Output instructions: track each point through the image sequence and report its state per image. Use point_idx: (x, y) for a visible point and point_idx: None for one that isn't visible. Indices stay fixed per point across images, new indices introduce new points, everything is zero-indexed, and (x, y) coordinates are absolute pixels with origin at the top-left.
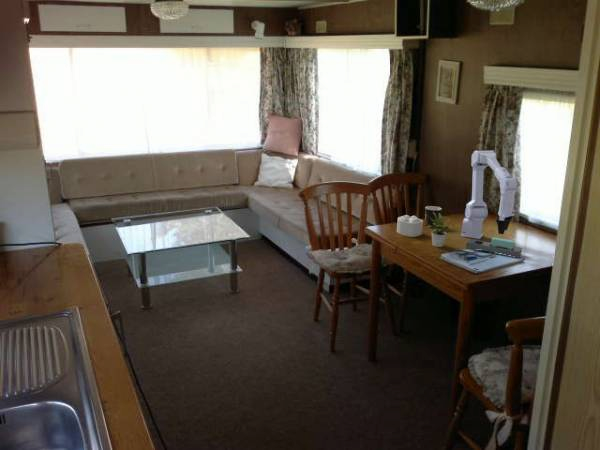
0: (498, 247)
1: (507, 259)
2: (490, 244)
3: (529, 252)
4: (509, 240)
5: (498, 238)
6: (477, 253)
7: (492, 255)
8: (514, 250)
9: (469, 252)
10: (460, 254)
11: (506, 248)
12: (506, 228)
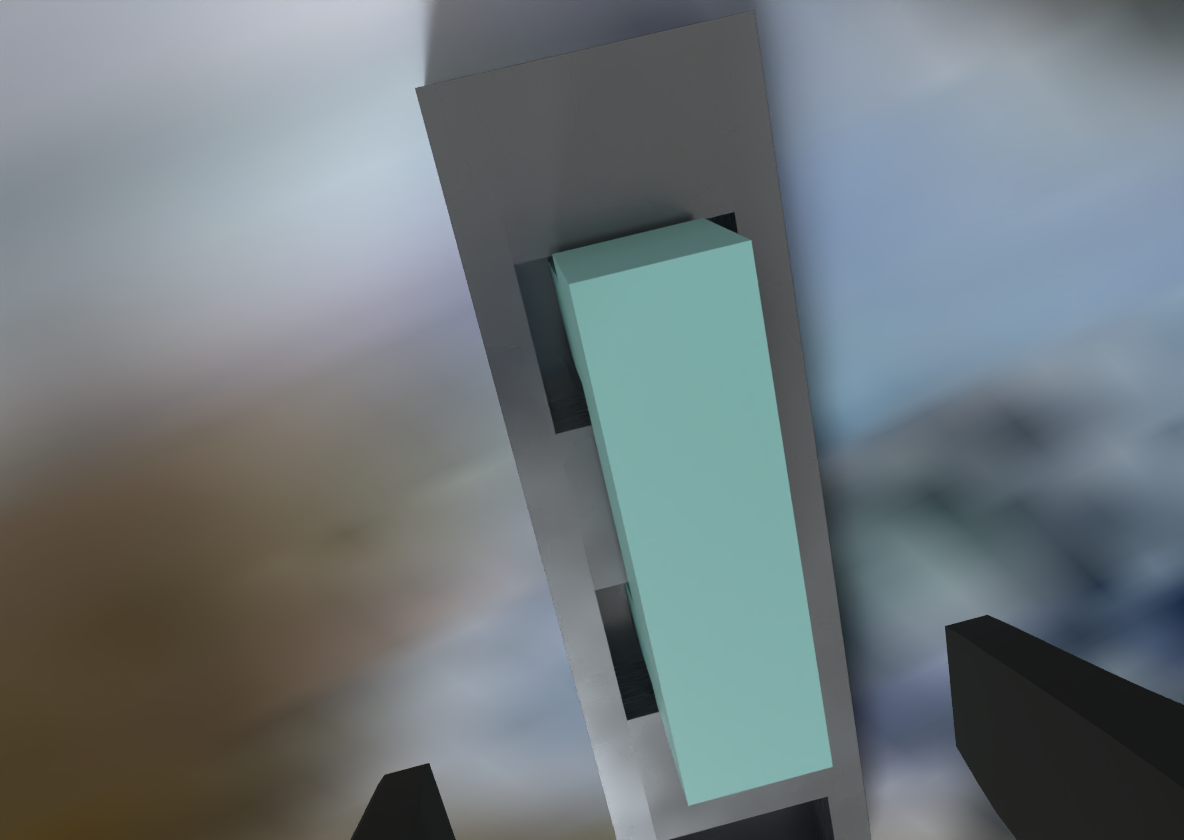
0: None
1: (951, 168)
2: None
3: (99, 5)
4: (643, 421)
5: (687, 683)
6: None
7: (908, 468)
8: (736, 159)
9: None
10: None
11: (551, 413)
12: (426, 825)
